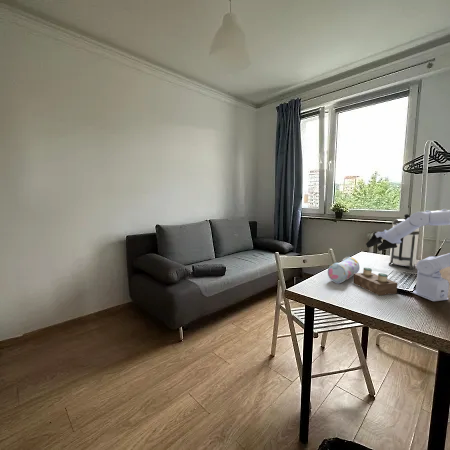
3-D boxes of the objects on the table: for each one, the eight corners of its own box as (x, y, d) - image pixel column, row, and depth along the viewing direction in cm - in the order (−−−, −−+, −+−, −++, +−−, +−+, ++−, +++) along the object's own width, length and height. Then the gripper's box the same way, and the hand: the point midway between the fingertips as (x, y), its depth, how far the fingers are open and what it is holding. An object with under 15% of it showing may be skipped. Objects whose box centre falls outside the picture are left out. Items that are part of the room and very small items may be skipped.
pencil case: (341, 271, 127) (343, 254, 126) (359, 275, 121) (361, 257, 120) (325, 281, 112) (326, 262, 111) (345, 286, 106) (346, 266, 105)
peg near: (388, 285, 99) (389, 275, 99) (382, 285, 98) (382, 276, 98) (381, 282, 102) (382, 272, 102) (375, 282, 101) (376, 273, 101)
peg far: (372, 278, 107) (373, 269, 106) (366, 279, 106) (367, 270, 106) (367, 276, 110) (367, 267, 109) (361, 276, 109) (361, 267, 109)
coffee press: (378, 262, 145) (383, 212, 141) (405, 262, 144) (410, 213, 140) (398, 271, 128) (403, 215, 124) (428, 271, 127) (435, 215, 123)
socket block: (396, 293, 99) (397, 283, 98) (378, 295, 97) (379, 284, 96) (369, 281, 112) (370, 272, 112) (353, 282, 110) (353, 273, 110)
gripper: (405, 228, 108) (379, 243, 118) (384, 220, 103) (358, 237, 113) (413, 240, 104) (386, 256, 113) (391, 233, 99) (364, 249, 108)
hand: (372, 247), depth 113 cm, fingers open, 7 cm apart
